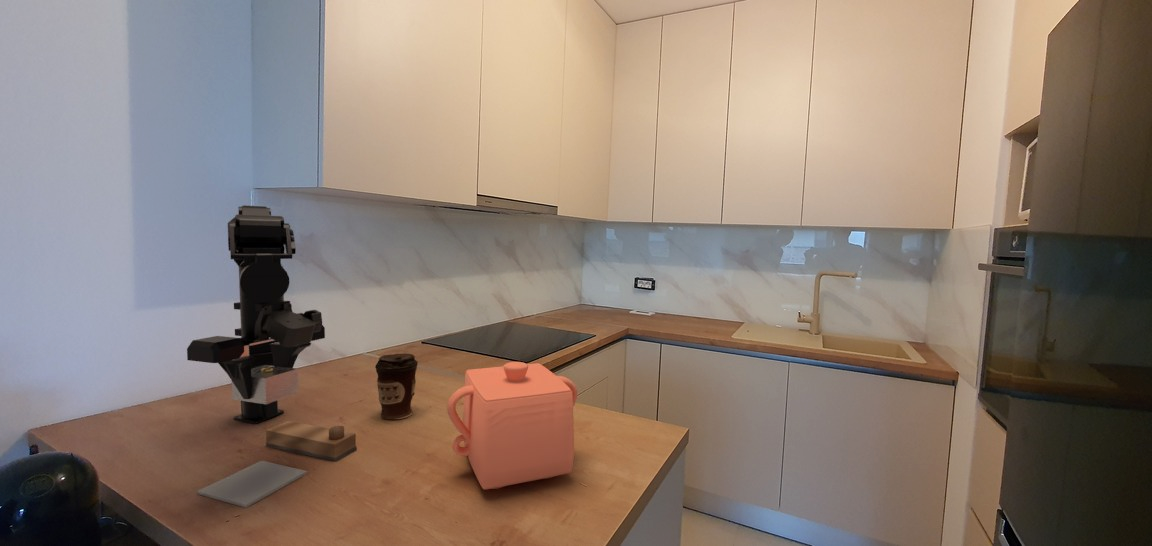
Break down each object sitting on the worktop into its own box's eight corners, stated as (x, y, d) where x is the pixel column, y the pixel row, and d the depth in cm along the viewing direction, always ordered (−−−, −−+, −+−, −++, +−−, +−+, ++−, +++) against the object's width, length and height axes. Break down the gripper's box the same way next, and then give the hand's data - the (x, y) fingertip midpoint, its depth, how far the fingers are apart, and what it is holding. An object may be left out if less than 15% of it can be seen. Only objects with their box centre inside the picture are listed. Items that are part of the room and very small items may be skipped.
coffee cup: (402, 425, 94) (402, 363, 93) (366, 421, 96) (365, 360, 95) (424, 409, 102) (424, 352, 101) (391, 406, 104) (391, 350, 103)
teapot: (435, 437, 89) (435, 347, 87) (545, 421, 98) (547, 339, 96) (455, 508, 66) (455, 387, 65) (596, 479, 75) (599, 372, 73)
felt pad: (197, 493, 68) (197, 491, 68) (261, 462, 78) (261, 460, 77) (245, 507, 65) (245, 504, 65) (307, 473, 74) (307, 471, 74)
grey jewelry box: (232, 399, 71) (231, 370, 71) (266, 388, 76) (265, 361, 76) (266, 404, 69) (265, 374, 69) (298, 392, 74) (297, 365, 74)
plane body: (265, 445, 84) (264, 421, 83) (288, 435, 88) (287, 412, 88) (336, 461, 78) (335, 435, 78) (356, 449, 83) (356, 425, 82)
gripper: (241, 305, 60) (245, 420, 61) (349, 291, 78) (351, 381, 79) (182, 301, 64) (186, 411, 65) (298, 289, 81) (301, 375, 82)
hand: (265, 392), depth 73 cm, fingers closed on grey jewelry box, 6 cm apart
